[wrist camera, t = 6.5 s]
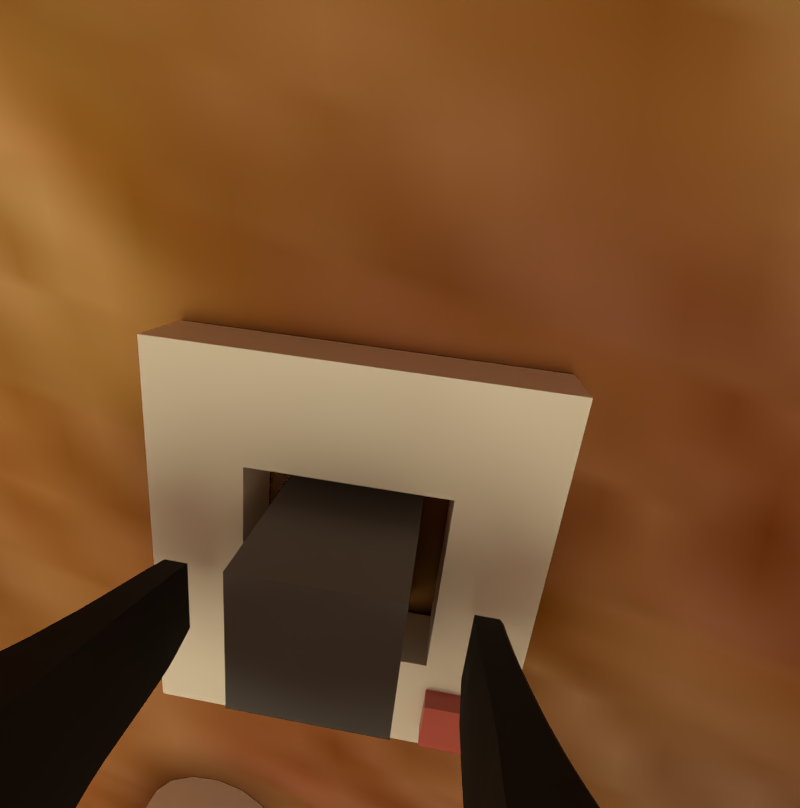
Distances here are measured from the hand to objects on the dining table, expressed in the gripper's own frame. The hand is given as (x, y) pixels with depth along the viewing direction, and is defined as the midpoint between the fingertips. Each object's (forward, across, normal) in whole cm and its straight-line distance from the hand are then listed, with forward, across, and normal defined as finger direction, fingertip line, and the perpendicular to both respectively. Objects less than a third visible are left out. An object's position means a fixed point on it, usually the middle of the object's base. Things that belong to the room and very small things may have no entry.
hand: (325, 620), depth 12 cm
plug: (+4, 0, 0) cm, 4 cm away
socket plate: (+4, 0, 0) cm, 4 cm away
